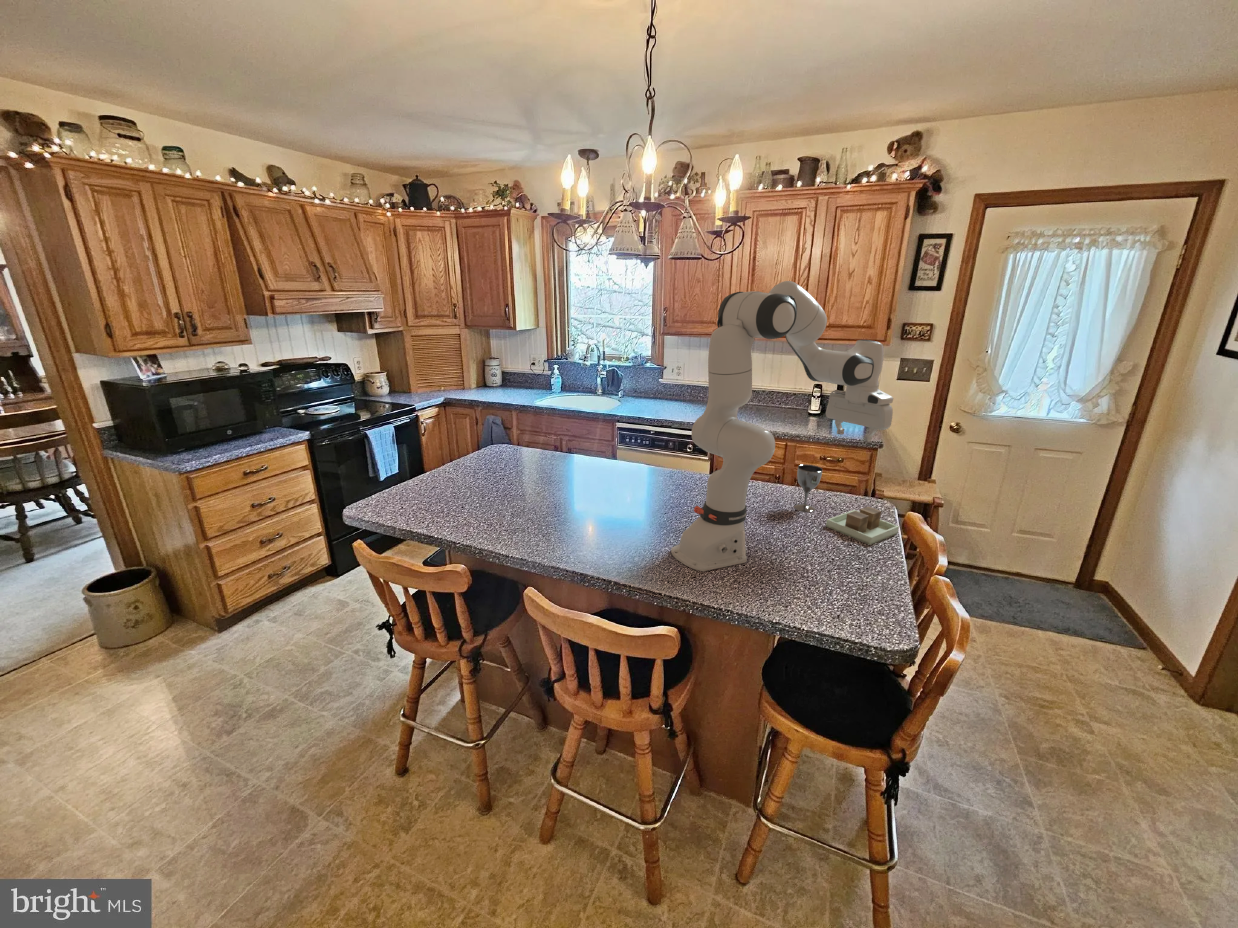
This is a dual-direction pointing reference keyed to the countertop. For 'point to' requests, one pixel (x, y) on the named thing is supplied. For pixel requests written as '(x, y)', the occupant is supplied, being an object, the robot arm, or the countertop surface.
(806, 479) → the wine glass
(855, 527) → the block
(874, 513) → the block
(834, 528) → the tray
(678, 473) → the countertop surface
